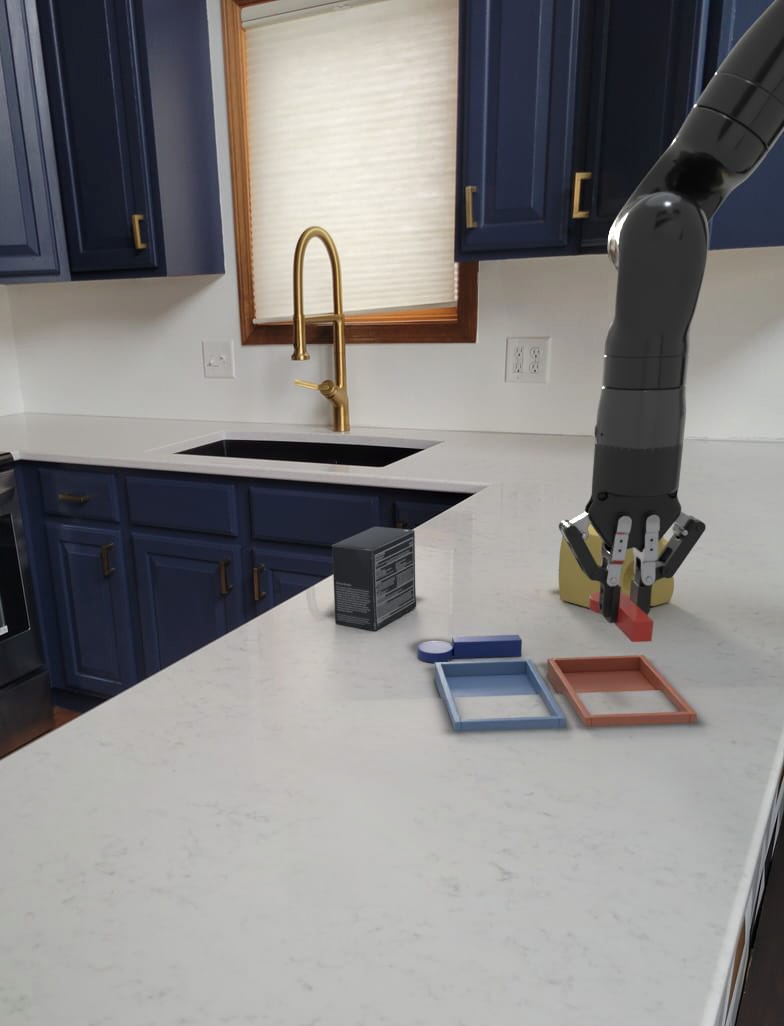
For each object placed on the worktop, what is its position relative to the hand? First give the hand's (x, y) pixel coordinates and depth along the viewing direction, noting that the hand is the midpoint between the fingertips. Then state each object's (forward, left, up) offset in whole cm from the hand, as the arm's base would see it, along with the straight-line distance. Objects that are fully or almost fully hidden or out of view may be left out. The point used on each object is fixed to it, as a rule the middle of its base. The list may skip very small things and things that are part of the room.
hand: (623, 619), depth 92 cm
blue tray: (+12, -1, -9) cm, 15 cm away
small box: (+22, -30, -9) cm, 38 cm away
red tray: (0, -1, -9) cm, 9 cm away
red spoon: (0, 0, 0) cm, 0 cm away
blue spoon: (+12, -15, -9) cm, 21 cm away
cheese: (-9, -32, -9) cm, 34 cm away
